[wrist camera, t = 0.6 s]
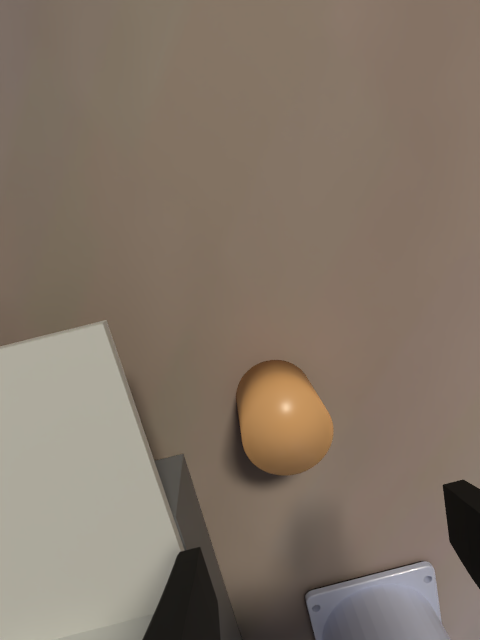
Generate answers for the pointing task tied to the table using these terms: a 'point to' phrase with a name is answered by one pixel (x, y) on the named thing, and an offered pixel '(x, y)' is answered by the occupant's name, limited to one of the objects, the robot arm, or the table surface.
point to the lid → (77, 494)
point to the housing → (195, 533)
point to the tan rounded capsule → (282, 419)
